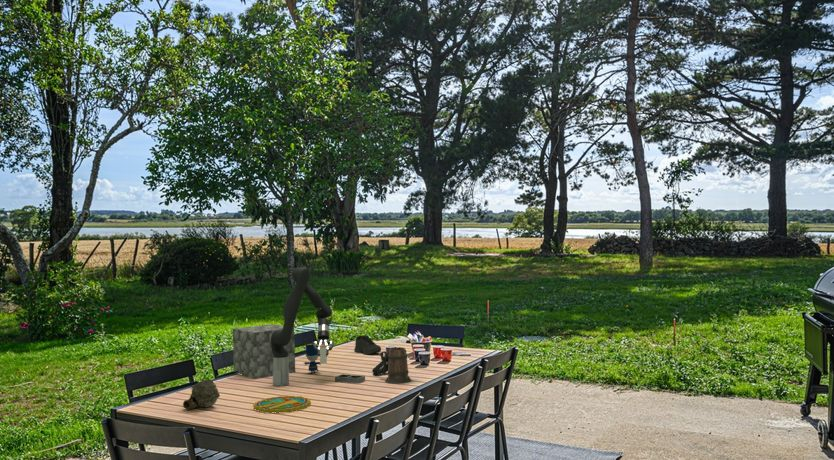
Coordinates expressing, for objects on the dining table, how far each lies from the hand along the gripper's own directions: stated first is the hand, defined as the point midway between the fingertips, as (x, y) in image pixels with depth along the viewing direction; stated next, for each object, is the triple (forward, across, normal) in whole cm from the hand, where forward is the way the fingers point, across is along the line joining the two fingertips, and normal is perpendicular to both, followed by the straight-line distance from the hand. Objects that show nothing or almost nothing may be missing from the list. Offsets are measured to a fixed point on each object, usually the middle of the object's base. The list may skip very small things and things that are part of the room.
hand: (323, 355), depth 408 cm
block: (-18, -41, +42) cm, 62 cm away
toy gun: (-2, +42, +25) cm, 49 cm away
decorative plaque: (+50, -20, -25) cm, 60 cm away
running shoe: (-59, +30, +82) cm, 105 cm away
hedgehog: (+46, -65, -20) cm, 82 cm away
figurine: (-10, -8, +34) cm, 37 cm away
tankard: (+14, +43, +10) cm, 47 cm away
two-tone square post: (+2, 0, +5) cm, 5 cm away
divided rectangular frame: (+11, +16, +12) cm, 23 cm away
